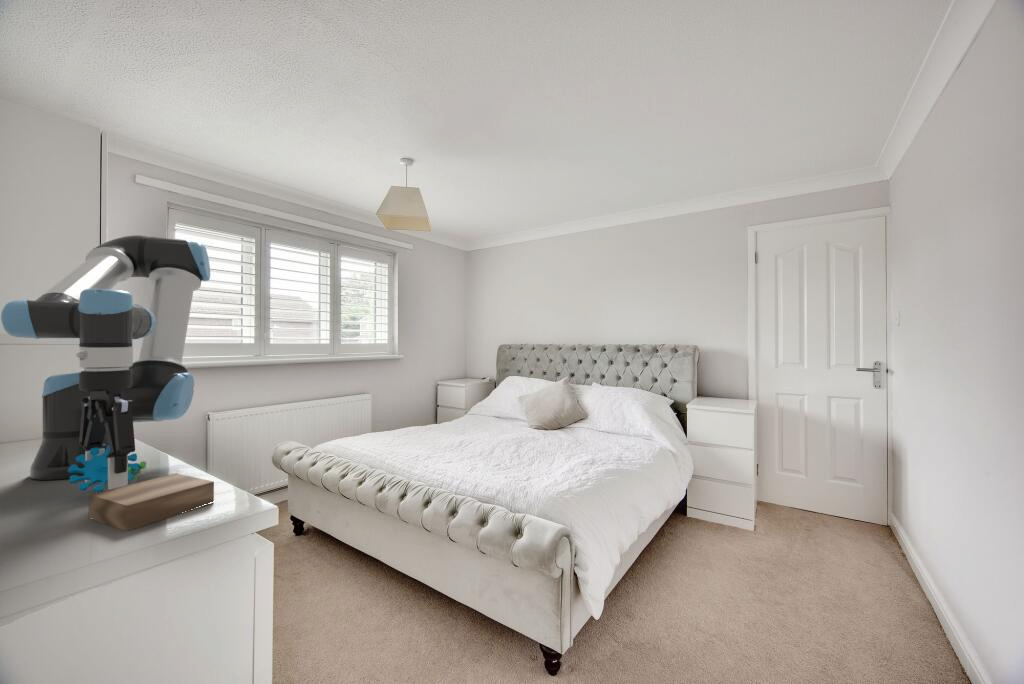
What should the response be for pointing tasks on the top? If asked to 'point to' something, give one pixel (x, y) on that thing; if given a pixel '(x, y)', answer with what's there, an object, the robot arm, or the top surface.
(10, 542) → the top surface
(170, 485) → the brown rectangular block
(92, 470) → the gear
